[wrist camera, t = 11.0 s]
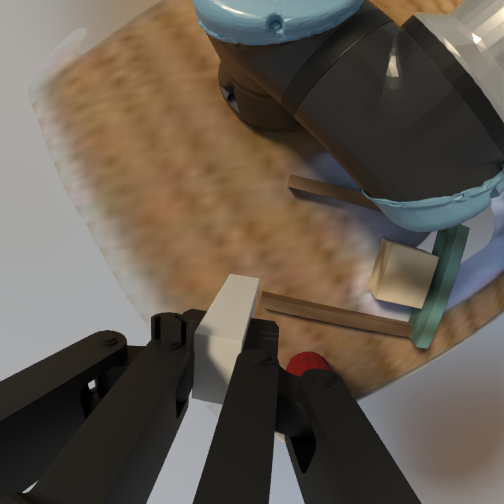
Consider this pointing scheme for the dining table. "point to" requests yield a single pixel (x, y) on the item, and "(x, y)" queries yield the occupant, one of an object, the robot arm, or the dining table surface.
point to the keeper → (402, 274)
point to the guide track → (417, 328)
